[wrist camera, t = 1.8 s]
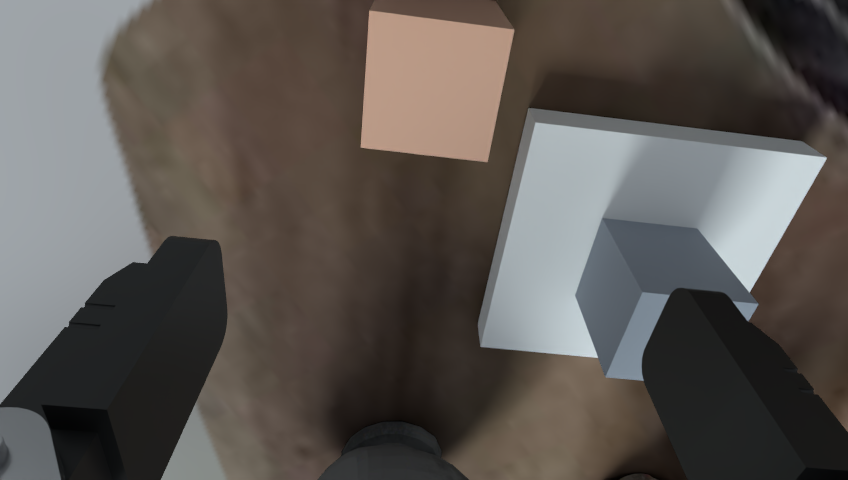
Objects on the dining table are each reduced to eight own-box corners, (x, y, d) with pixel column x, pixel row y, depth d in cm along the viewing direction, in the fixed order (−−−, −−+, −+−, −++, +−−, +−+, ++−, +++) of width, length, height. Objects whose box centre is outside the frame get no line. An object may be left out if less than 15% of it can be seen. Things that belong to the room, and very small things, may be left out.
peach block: (381, -15, 23) (369, 10, 18) (495, 0, 24) (514, 29, 18) (373, 98, 26) (360, 147, 21) (475, 110, 26) (487, 162, 21)
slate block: (602, 217, 27) (642, 292, 22) (697, 228, 27) (758, 304, 22) (575, 295, 30) (605, 377, 25) (661, 303, 30) (709, 386, 25)
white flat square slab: (528, 107, 26) (535, 122, 24) (801, 141, 27) (827, 157, 25) (477, 324, 34) (480, 346, 32) (692, 344, 34) (706, 367, 33)
